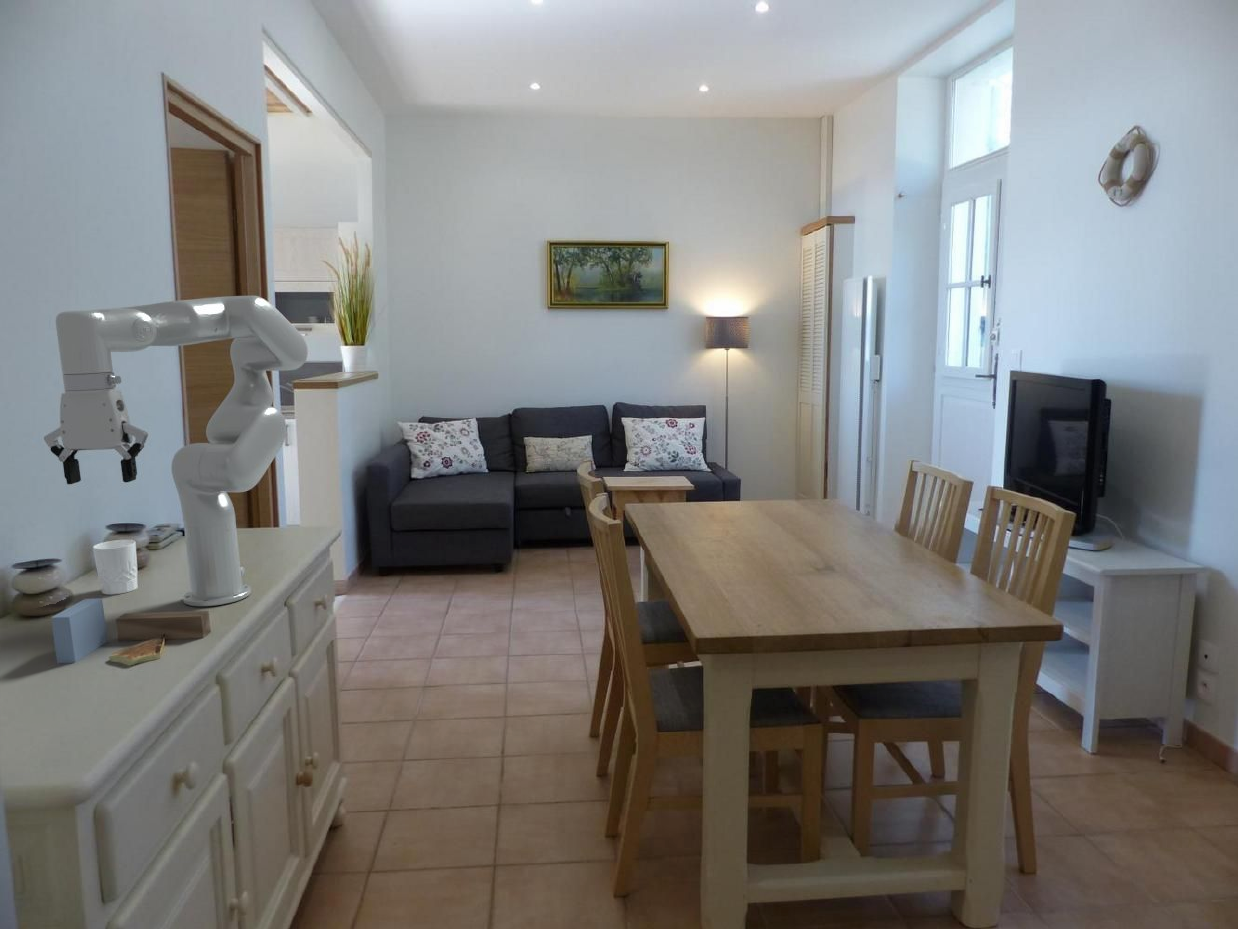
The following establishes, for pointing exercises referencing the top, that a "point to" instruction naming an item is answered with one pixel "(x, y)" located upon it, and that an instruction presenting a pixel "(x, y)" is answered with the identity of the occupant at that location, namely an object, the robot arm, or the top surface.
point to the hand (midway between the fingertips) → (101, 482)
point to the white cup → (116, 566)
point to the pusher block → (79, 630)
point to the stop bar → (163, 625)
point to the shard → (140, 652)
